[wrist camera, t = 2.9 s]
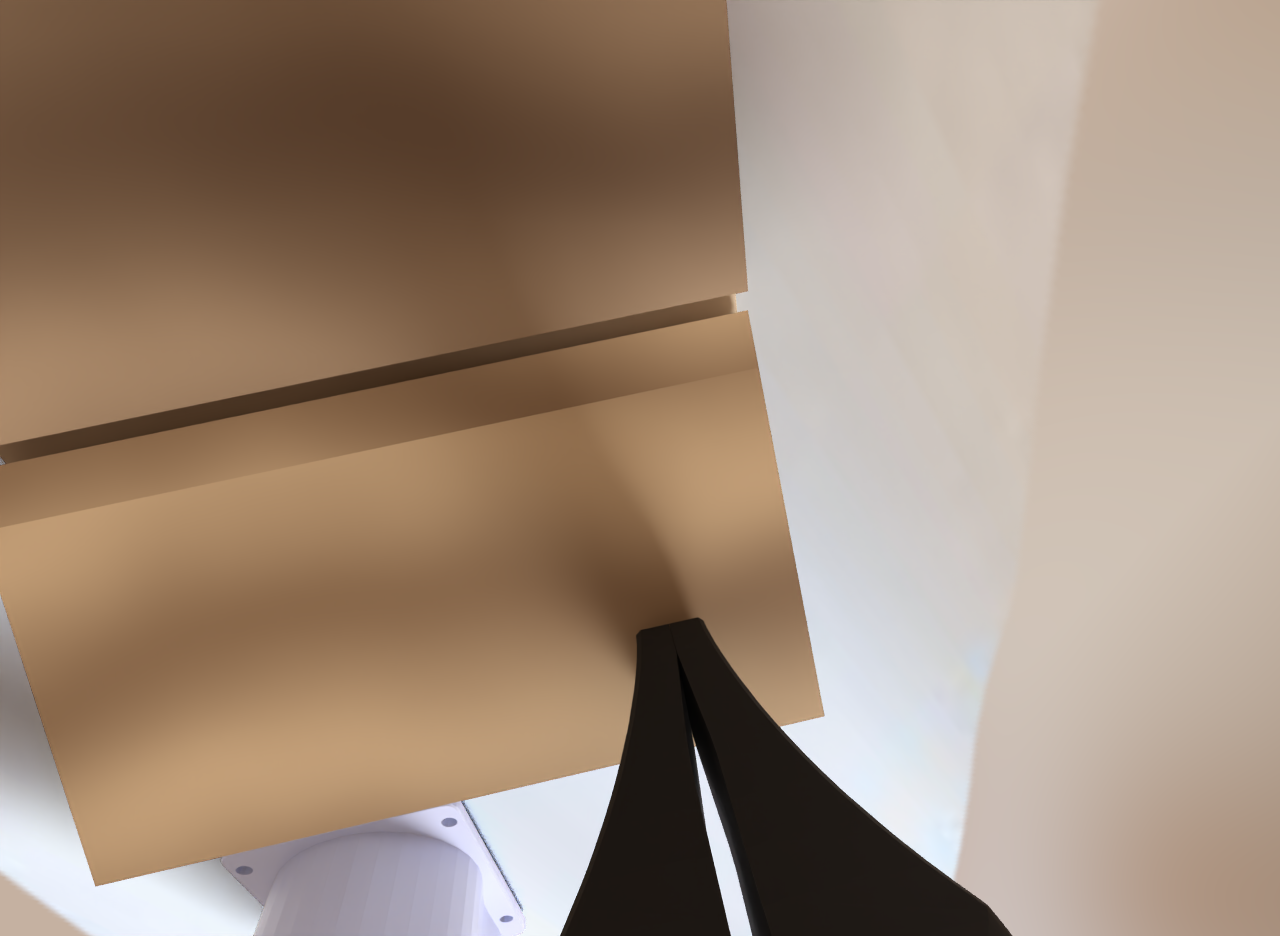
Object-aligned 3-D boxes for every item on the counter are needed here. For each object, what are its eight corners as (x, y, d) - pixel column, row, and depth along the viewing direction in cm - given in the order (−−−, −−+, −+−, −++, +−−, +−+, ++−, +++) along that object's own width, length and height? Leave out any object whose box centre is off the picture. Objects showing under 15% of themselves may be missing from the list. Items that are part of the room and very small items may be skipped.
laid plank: (736, 354, 14) (753, 374, 13) (54, 497, 13) (4, 532, 12) (690, -158, 10) (711, -201, 8) (-325, 22, 9) (-461, 3, 8)
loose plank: (803, 687, 14) (824, 716, 13) (147, 839, 14) (94, 886, 12) (733, 321, 14) (747, 310, 12) (30, 467, 13) (-39, 473, 12)
